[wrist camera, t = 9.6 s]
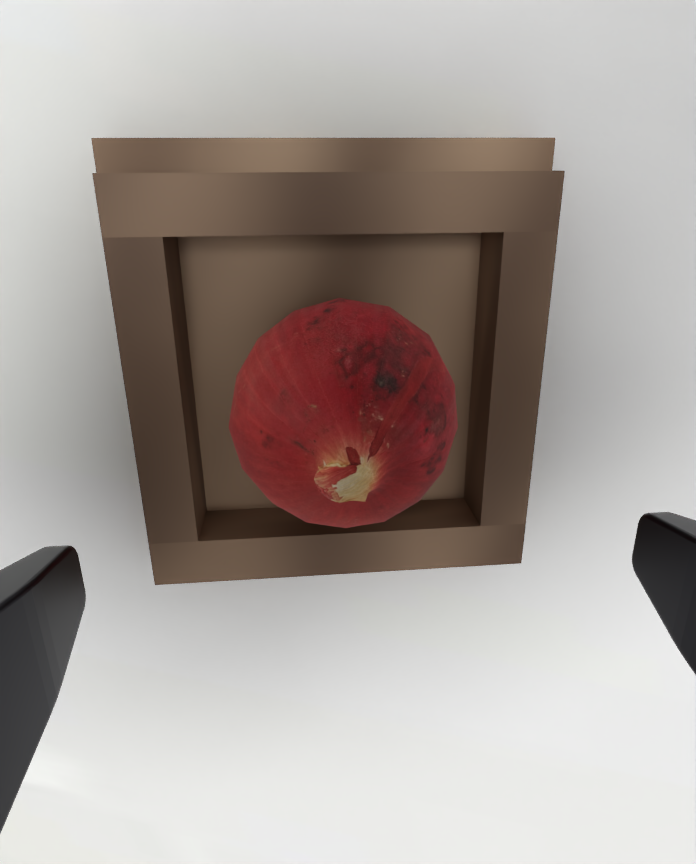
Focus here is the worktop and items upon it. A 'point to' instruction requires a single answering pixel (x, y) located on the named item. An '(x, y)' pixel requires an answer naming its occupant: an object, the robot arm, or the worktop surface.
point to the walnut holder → (313, 284)
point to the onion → (344, 413)
